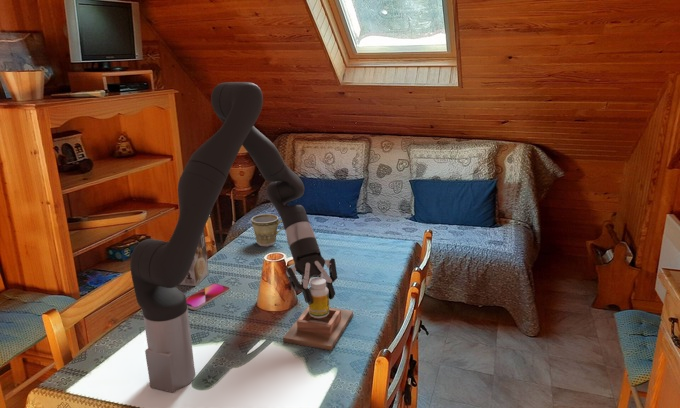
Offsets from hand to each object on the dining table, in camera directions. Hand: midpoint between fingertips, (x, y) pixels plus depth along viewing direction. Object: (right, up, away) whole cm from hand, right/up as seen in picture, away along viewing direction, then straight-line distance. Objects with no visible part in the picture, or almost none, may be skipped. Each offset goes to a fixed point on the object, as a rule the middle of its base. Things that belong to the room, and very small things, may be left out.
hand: (321, 300), depth 133 cm
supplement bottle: (-1, -4, +3) cm, 5 cm away
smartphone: (-36, -3, +22) cm, 42 cm away
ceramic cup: (-22, +10, +61) cm, 66 cm away
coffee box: (-42, +1, +33) cm, 54 cm away
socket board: (-1, -8, +4) cm, 9 cm away
